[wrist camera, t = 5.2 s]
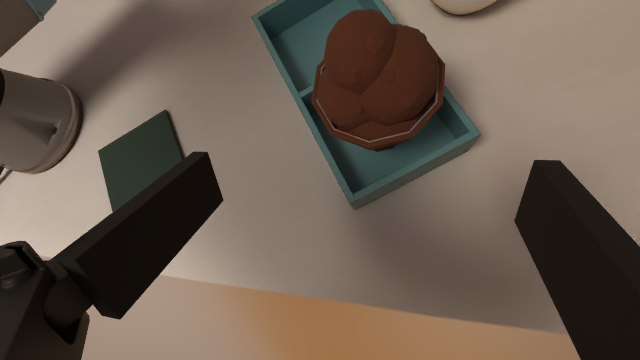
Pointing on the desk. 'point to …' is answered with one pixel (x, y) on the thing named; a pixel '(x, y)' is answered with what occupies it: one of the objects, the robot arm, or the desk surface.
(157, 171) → the mat
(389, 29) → the ice cream bowl
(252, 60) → the desk surface
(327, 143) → the divided tray
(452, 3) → the trinket box
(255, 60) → the desk surface
